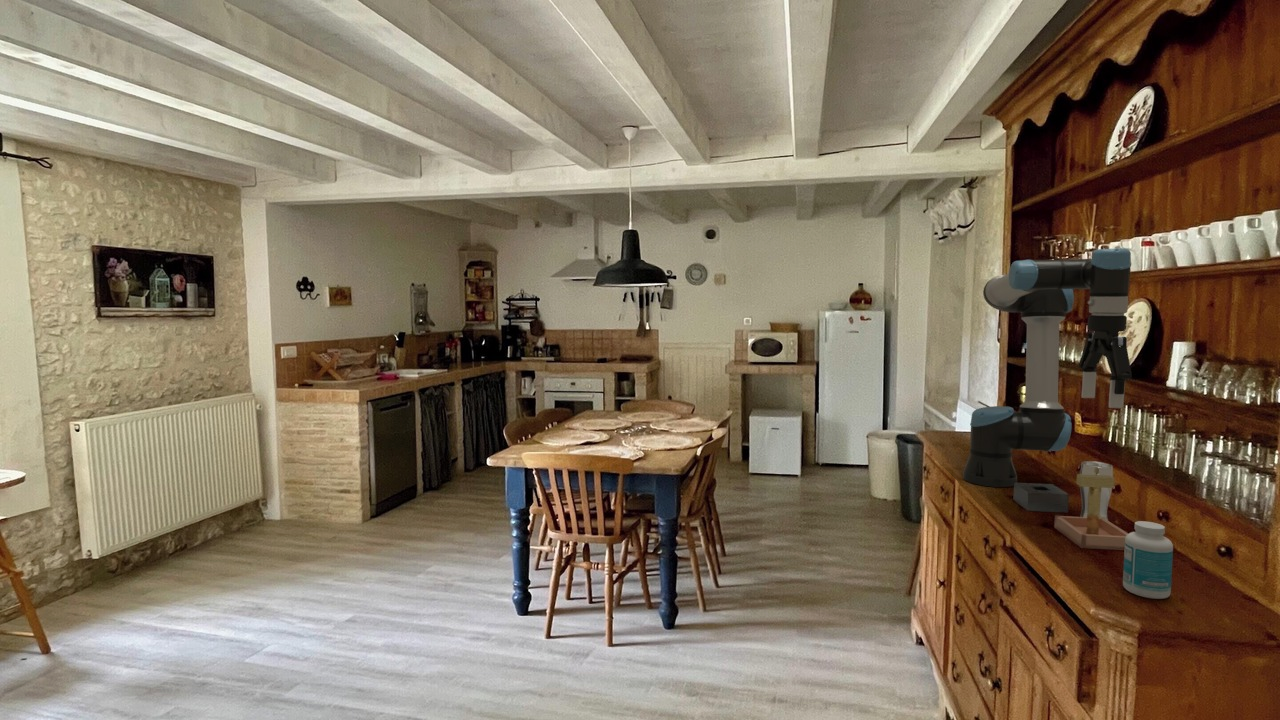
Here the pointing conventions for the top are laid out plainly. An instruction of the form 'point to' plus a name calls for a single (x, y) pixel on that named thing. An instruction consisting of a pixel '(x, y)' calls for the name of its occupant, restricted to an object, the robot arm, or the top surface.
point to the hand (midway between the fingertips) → (1101, 402)
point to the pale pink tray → (1076, 532)
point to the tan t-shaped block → (1094, 497)
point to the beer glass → (1101, 469)
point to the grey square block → (1041, 497)
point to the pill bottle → (1148, 561)
